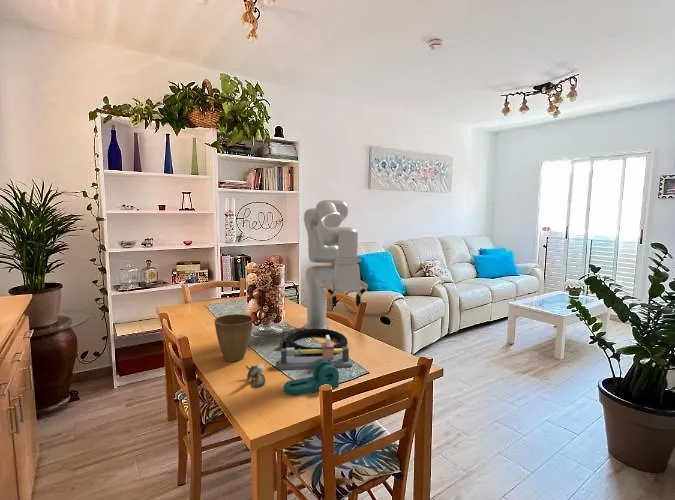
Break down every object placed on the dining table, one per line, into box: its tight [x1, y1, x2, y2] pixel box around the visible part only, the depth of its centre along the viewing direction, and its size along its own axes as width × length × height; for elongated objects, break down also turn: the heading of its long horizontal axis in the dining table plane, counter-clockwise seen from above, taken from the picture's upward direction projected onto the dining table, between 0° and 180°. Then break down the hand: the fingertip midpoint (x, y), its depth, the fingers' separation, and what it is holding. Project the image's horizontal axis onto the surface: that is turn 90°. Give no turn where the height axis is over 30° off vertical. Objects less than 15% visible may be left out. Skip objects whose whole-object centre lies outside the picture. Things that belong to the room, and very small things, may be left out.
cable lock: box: [279, 328, 348, 357], centre depth 167 cm, size 28×4×30 cm
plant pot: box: [213, 313, 254, 362], centre depth 150 cm, size 15×15×16 cm
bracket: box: [283, 360, 340, 397], centre depth 127 cm, size 18×7×8 cm, turn 114°
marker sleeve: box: [321, 335, 335, 360], centre depth 147 cm, size 5×4×8 cm
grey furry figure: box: [245, 363, 266, 390], centre depth 131 cm, size 8×7×9 cm
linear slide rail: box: [278, 346, 353, 370], centre depth 147 cm, size 8×28×6 cm, turn 98°
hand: (346, 305), depth 146 cm, fingers open, 8 cm apart
